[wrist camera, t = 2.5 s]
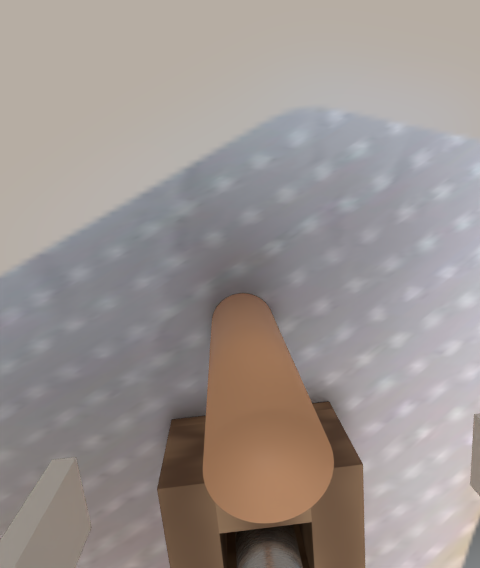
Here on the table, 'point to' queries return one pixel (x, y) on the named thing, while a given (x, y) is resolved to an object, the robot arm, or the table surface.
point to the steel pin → (268, 548)
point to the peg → (260, 420)
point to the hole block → (222, 526)
